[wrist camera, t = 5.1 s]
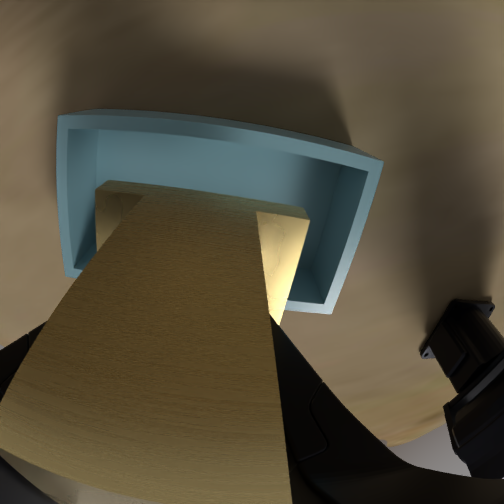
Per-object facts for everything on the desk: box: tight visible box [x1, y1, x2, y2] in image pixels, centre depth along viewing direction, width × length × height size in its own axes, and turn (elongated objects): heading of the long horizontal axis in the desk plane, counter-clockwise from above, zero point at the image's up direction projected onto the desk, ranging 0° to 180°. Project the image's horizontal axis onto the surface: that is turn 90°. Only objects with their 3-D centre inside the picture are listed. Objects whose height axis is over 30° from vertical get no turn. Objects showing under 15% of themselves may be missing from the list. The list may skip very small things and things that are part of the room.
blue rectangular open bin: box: [56, 109, 384, 314], centre depth 15 cm, size 14×8×4 cm, turn 79°
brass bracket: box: [0, 180, 310, 504], centre depth 6 cm, size 6×5×8 cm
